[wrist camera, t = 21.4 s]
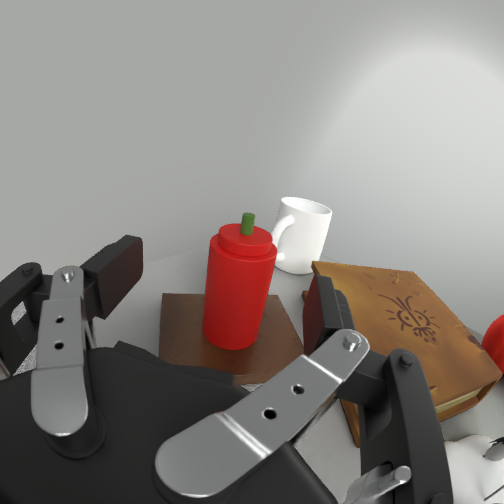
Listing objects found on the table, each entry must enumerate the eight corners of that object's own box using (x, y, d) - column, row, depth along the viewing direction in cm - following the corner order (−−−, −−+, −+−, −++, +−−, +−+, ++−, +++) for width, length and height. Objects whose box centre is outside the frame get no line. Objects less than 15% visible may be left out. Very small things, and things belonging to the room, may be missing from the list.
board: (160, 386, 20) (158, 376, 20) (162, 303, 30) (162, 292, 30) (309, 377, 24) (314, 367, 23) (275, 304, 34) (277, 294, 34)
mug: (284, 289, 38) (302, 220, 33) (242, 264, 42) (253, 200, 38) (324, 267, 46) (340, 211, 42) (287, 248, 51) (299, 195, 46)
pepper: (227, 359, 23) (249, 233, 18) (191, 324, 26) (199, 207, 21) (268, 334, 27) (298, 222, 22) (231, 306, 30) (249, 201, 25)
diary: (477, 405, 19) (505, 372, 17) (355, 449, 17) (391, 415, 14) (403, 300, 40) (417, 271, 37) (301, 295, 37) (312, 259, 35)
